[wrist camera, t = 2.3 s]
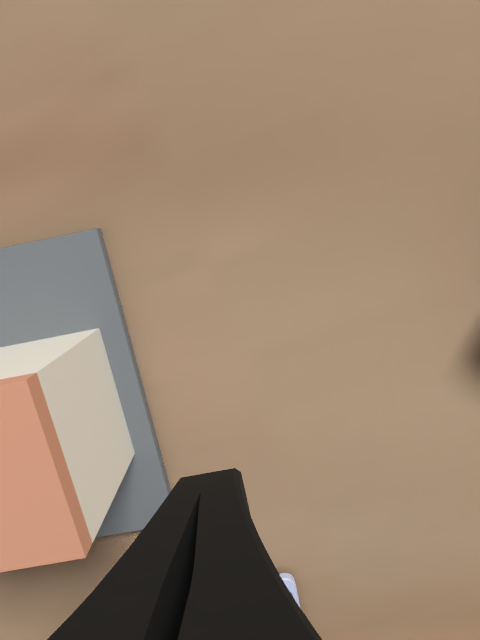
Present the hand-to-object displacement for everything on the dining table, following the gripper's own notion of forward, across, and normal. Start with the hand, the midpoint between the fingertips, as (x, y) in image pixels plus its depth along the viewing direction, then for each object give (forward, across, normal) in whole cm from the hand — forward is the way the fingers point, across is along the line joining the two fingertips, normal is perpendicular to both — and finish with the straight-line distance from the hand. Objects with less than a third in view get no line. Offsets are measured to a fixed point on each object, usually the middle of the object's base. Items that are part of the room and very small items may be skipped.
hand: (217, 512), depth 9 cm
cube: (+9, +8, 0) cm, 12 cm away
